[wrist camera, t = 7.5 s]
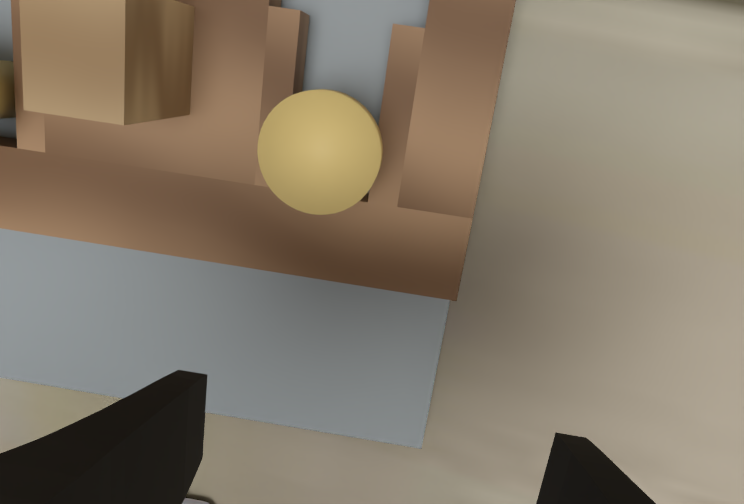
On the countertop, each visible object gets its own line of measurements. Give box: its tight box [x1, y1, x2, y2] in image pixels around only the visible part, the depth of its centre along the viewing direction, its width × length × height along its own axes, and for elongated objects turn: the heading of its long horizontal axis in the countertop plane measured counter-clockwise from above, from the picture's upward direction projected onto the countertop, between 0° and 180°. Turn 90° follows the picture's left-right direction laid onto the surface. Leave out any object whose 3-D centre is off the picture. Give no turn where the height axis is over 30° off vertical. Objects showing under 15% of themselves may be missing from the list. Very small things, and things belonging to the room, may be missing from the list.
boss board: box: [0, 0, 450, 449], centre depth 18 cm, size 22×20×5 cm
